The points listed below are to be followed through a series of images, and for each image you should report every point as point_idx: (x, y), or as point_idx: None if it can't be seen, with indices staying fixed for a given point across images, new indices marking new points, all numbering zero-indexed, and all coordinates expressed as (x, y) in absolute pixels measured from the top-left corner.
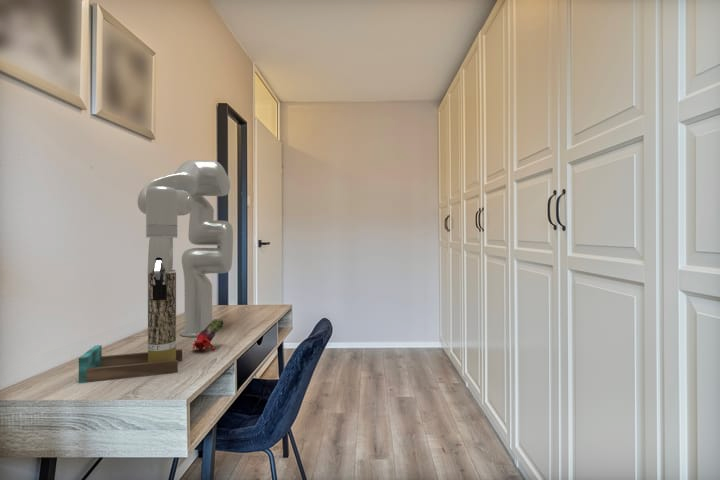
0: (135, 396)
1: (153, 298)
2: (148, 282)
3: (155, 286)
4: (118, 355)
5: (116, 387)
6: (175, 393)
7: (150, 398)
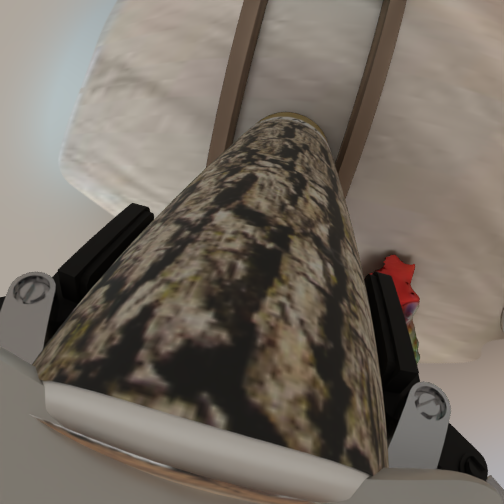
0: (97, 86)
1: (128, 211)
2: (147, 263)
3: (67, 283)
4: (385, 38)
5: (173, 37)
6: (84, 160)
7: (78, 116)
